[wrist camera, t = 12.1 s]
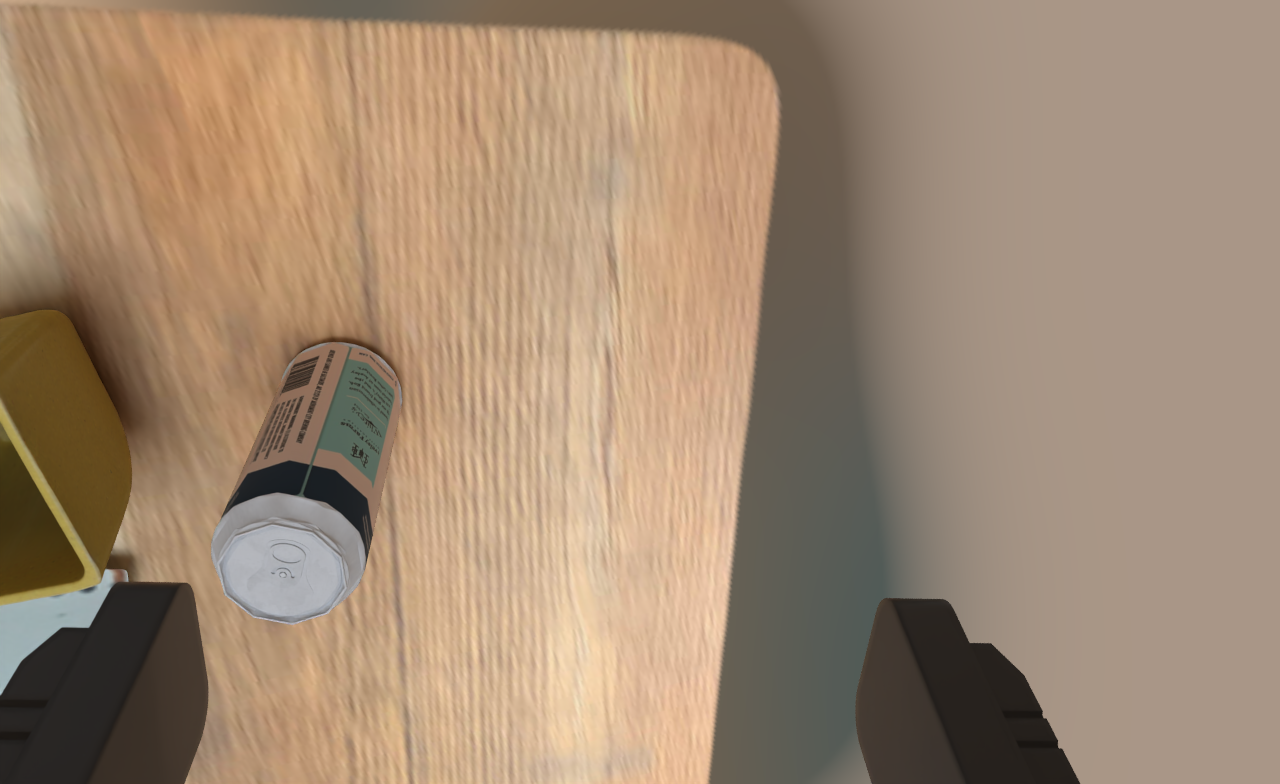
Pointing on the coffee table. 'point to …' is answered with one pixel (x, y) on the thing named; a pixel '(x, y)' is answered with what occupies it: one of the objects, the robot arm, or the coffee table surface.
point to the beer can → (310, 486)
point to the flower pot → (56, 461)
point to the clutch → (47, 620)
